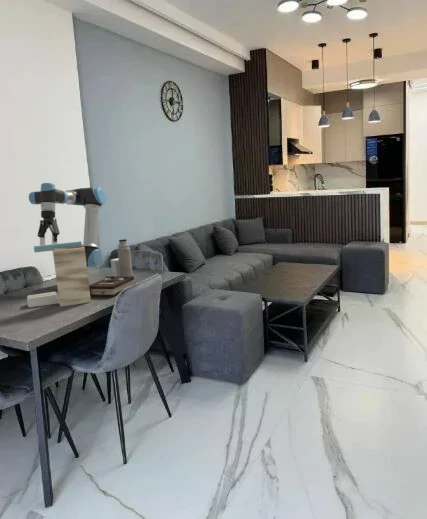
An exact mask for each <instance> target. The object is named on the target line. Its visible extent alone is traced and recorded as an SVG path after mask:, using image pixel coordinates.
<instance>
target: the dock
mask: <svg viewBox="0 0 427 519" xmlns="http://www.w3.org/2000/svg"><path fill="white" fill-rule="evenodd" d="M57 295H58V294H57V291H51V292H44V293H38V294H36V293H35V294H30V295H27V298H26V300H27V302H26V303H27V308H28V309H29V307H30V308H35V307H36V306H37V307H42V306H47V305H55V304H58V296H57ZM37 307H36V308H37Z"/></svg>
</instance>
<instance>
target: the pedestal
mask: <svg viewBox="0 0 427 519" xmlns="http://www.w3.org/2000/svg"><path fill="white" fill-rule="evenodd" d="M52 256H53V264H54V271H55V272H54V273H55V280H56V287H57V293H58V294H57V295H58V296H57V297H58V302H59V307H67V306H74V305H78V304H79V305H80V304H87V303H92V299H91V298H92V297H90V289H89V285H90V282H89V274H88V273H89V272H88V268H87V264H86V255H85V248H84V247H83V244H82V246H73V247H64V248H55V249H54V250H53V251H52Z"/></svg>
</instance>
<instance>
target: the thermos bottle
mask: <svg viewBox="0 0 427 519" xmlns="http://www.w3.org/2000/svg"><path fill="white" fill-rule="evenodd" d="M118 242H119V243H118V244H117V247H118V248H117V258H118V260H119V269H120V277H123V276H128V277H130V276H133V277H134V274H133V265H132V264H133V263H132V255H131V254H132V253H131V248H130V245H129V244H128V240H127V239H125V238H124V239H119V240H118Z"/></svg>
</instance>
